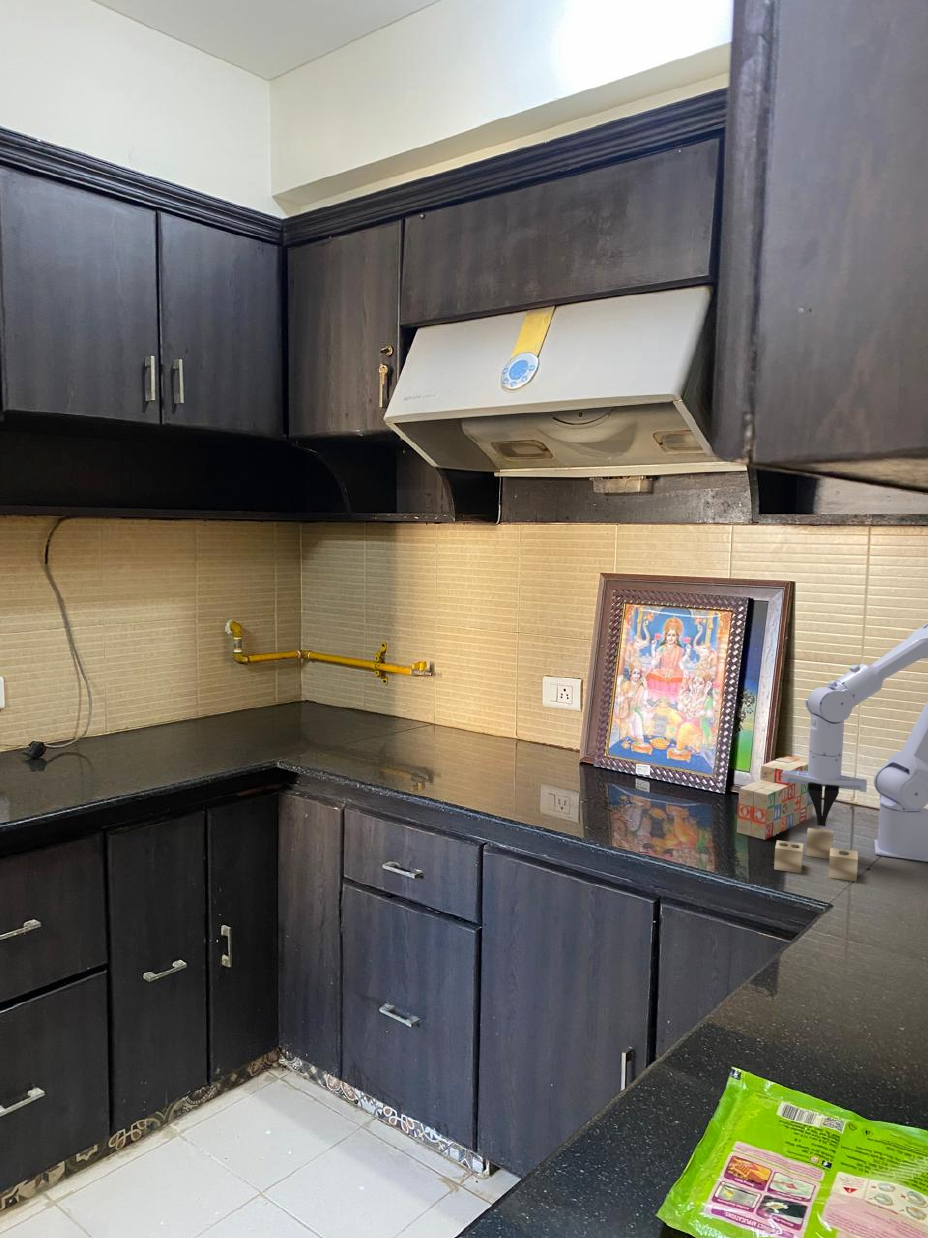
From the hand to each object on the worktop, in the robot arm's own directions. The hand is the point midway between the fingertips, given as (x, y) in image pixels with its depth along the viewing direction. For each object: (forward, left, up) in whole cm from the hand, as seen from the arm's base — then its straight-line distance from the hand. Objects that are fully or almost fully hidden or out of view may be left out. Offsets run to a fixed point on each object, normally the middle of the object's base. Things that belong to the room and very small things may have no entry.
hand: (821, 824), depth 172 cm
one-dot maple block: (-4, +10, -6) cm, 12 cm away
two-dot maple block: (+5, +10, -6) cm, 13 cm away
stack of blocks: (+9, -14, -6) cm, 18 cm away
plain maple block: (0, 0, -6) cm, 6 cm away
